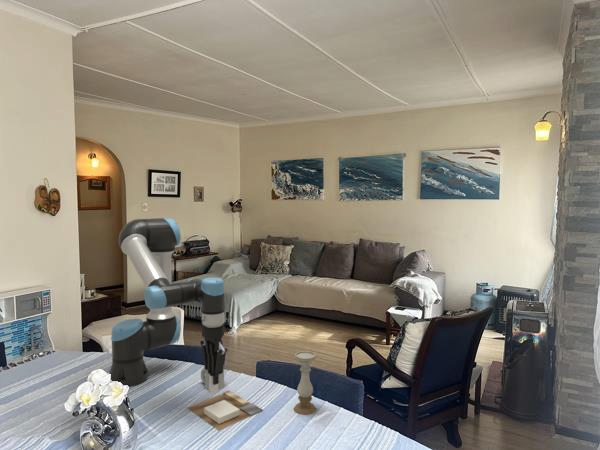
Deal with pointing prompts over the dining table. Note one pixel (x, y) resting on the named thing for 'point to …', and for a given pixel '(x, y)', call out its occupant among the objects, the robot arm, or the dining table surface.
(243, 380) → the dining table surface
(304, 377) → the candle holder
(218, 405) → the tile
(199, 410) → the board
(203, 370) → the cup
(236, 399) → the turner
